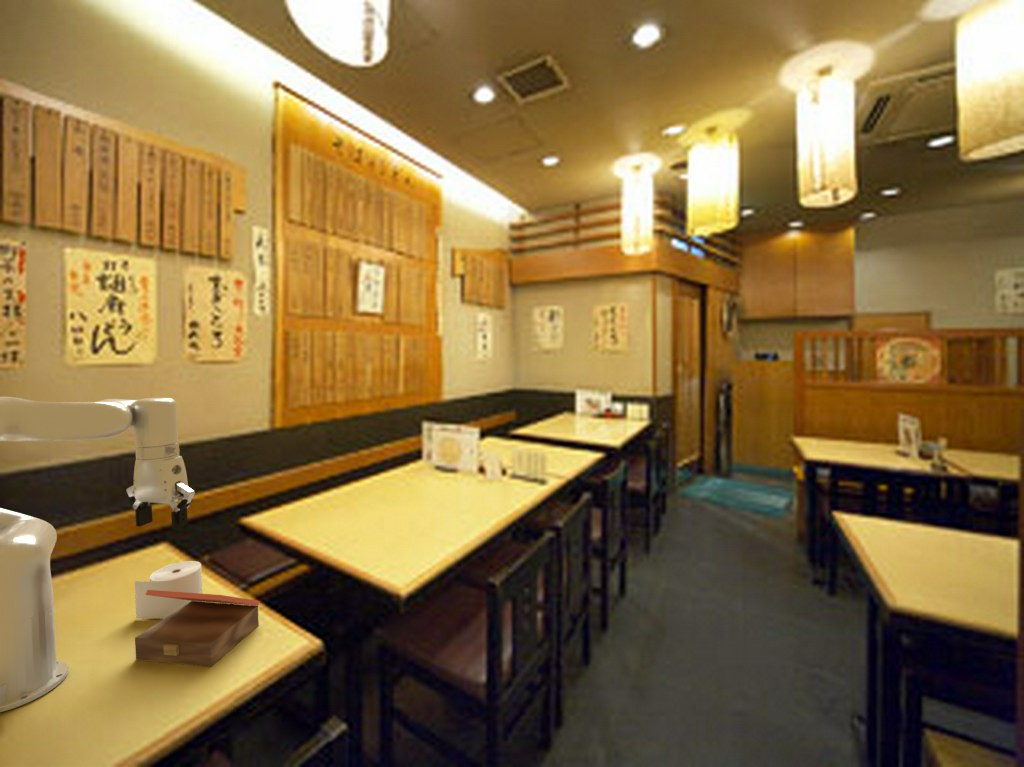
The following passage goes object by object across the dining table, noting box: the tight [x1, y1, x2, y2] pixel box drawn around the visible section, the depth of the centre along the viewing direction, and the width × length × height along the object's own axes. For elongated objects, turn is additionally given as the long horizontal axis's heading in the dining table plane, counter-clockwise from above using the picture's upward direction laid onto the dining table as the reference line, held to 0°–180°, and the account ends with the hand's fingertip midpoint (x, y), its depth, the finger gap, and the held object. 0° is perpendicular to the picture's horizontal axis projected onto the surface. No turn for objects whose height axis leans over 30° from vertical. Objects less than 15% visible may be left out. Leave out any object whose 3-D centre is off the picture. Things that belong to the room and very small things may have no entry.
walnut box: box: [134, 601, 260, 668], centre depth 96 cm, size 15×18×5 cm
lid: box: [145, 590, 260, 607], centre depth 97 cm, size 14×18×1 cm
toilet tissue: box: [134, 560, 203, 620], centre depth 109 cm, size 11×12×10 cm
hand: (162, 525), depth 95 cm, fingers open, 9 cm apart
